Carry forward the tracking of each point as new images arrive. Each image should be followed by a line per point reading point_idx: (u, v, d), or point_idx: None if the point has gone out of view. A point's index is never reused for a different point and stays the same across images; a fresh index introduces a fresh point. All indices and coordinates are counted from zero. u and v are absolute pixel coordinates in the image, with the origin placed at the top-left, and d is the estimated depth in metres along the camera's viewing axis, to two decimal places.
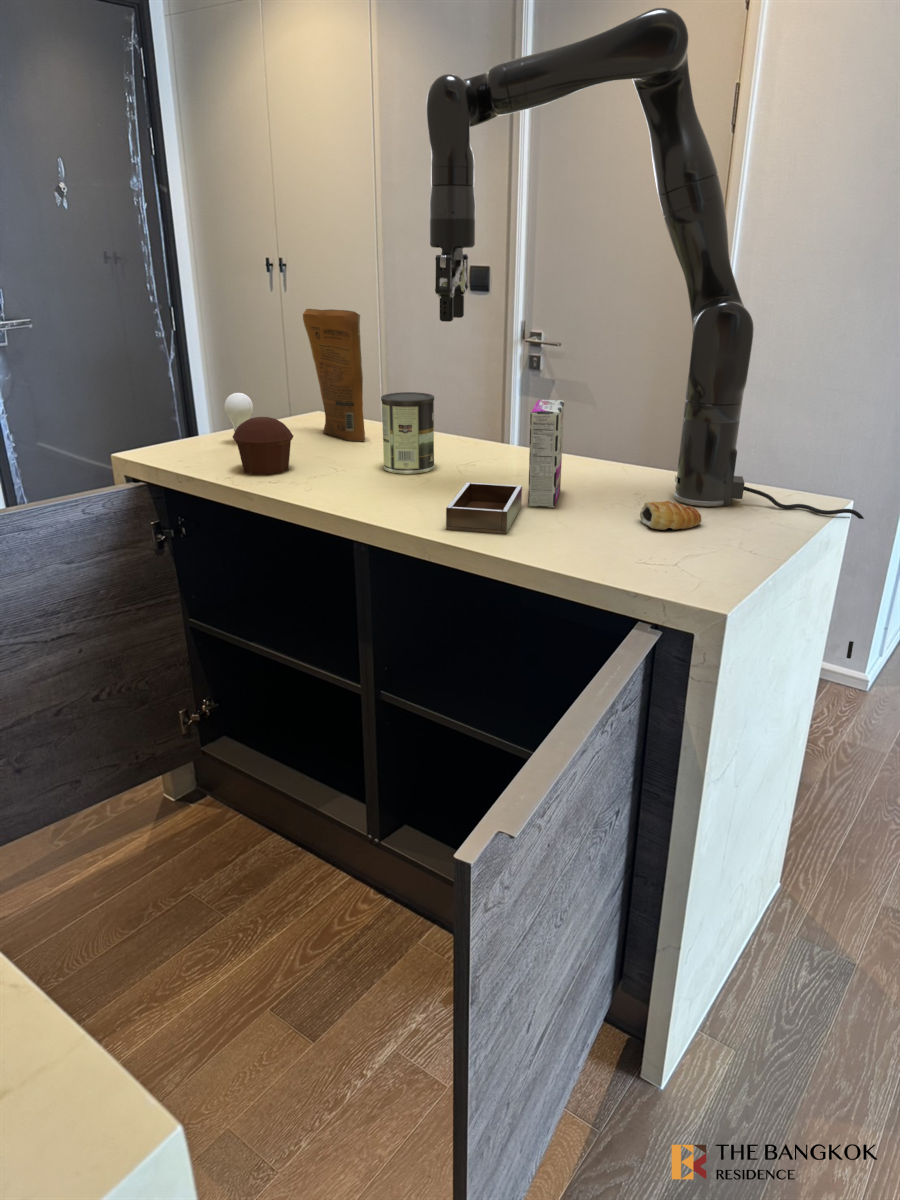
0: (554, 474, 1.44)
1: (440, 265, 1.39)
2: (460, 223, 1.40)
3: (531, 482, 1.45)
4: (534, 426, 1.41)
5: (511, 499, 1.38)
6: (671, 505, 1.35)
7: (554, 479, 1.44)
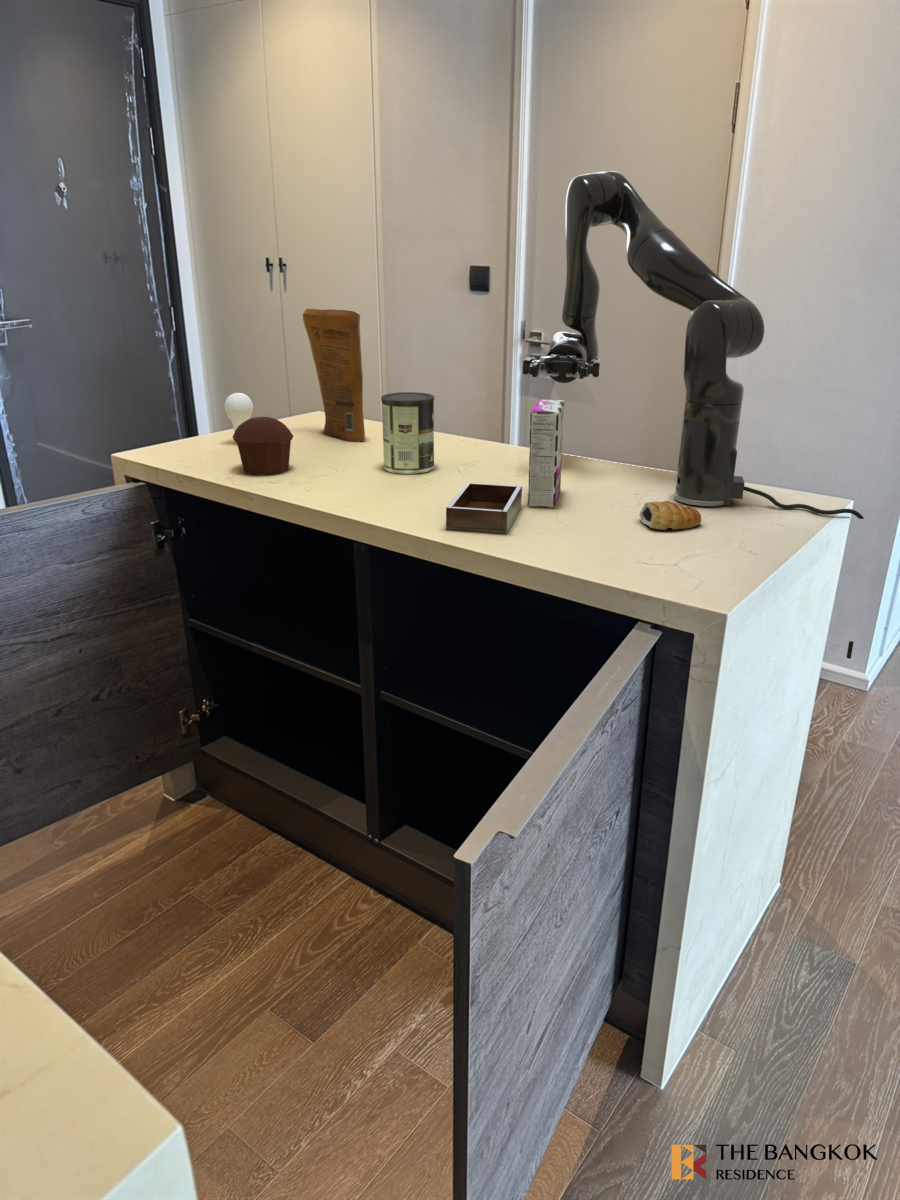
0: (554, 474, 1.44)
1: None
2: None
3: (531, 482, 1.45)
4: (534, 426, 1.41)
5: (511, 499, 1.38)
6: (671, 505, 1.35)
7: (554, 479, 1.44)
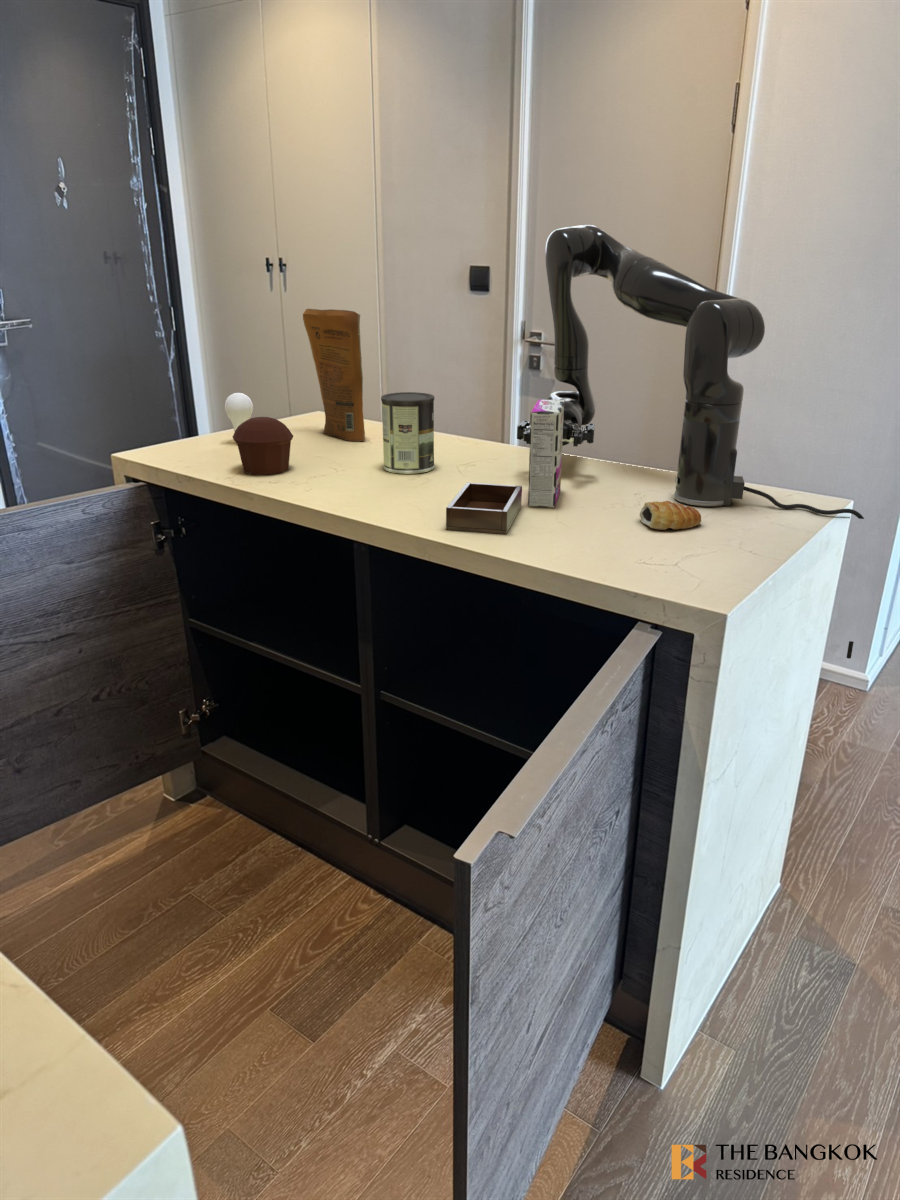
0: (554, 474, 1.44)
1: None
2: None
3: (531, 482, 1.45)
4: (534, 426, 1.41)
5: (511, 499, 1.38)
6: (671, 505, 1.35)
7: (554, 479, 1.44)
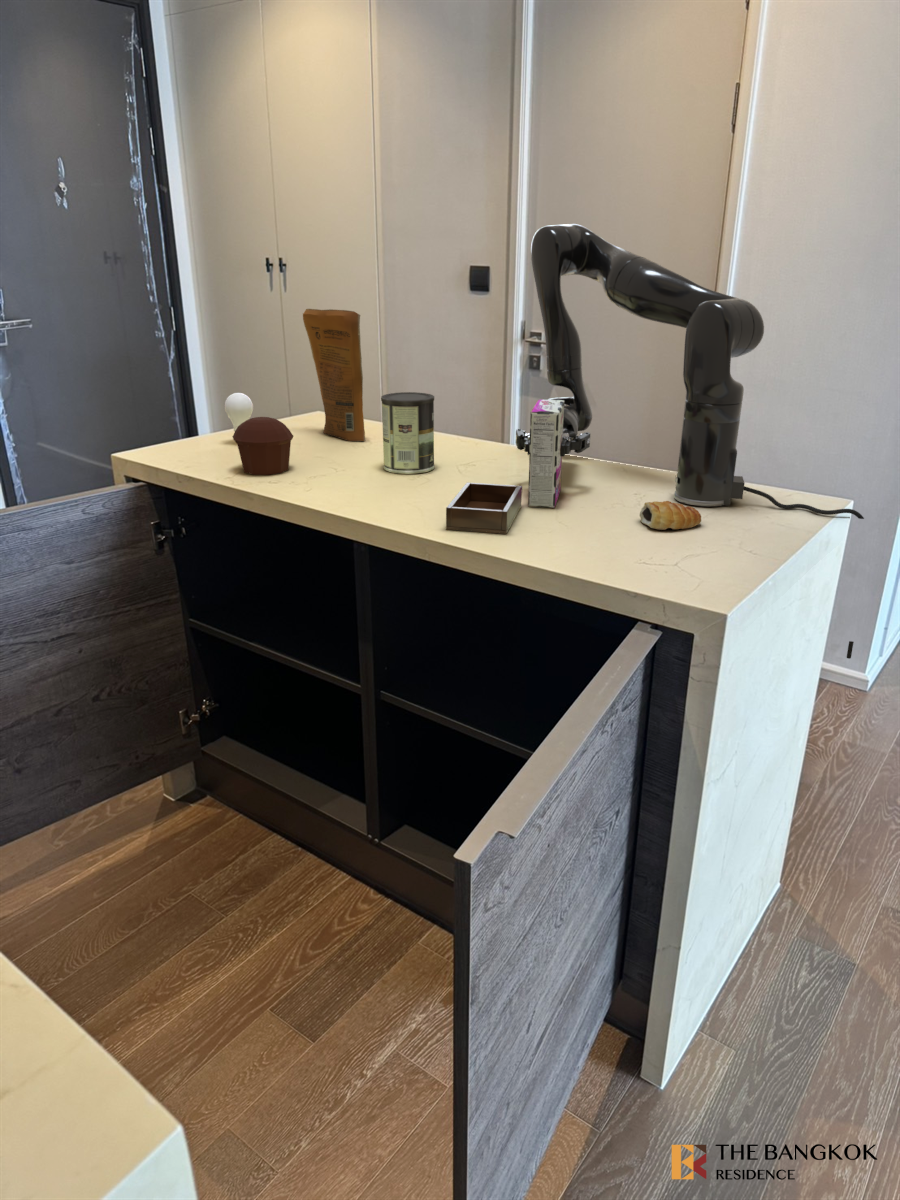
0: (554, 474, 1.44)
1: (516, 439, 1.57)
2: None
3: (531, 482, 1.45)
4: (534, 426, 1.41)
5: (511, 499, 1.38)
6: (671, 505, 1.35)
7: (554, 479, 1.44)
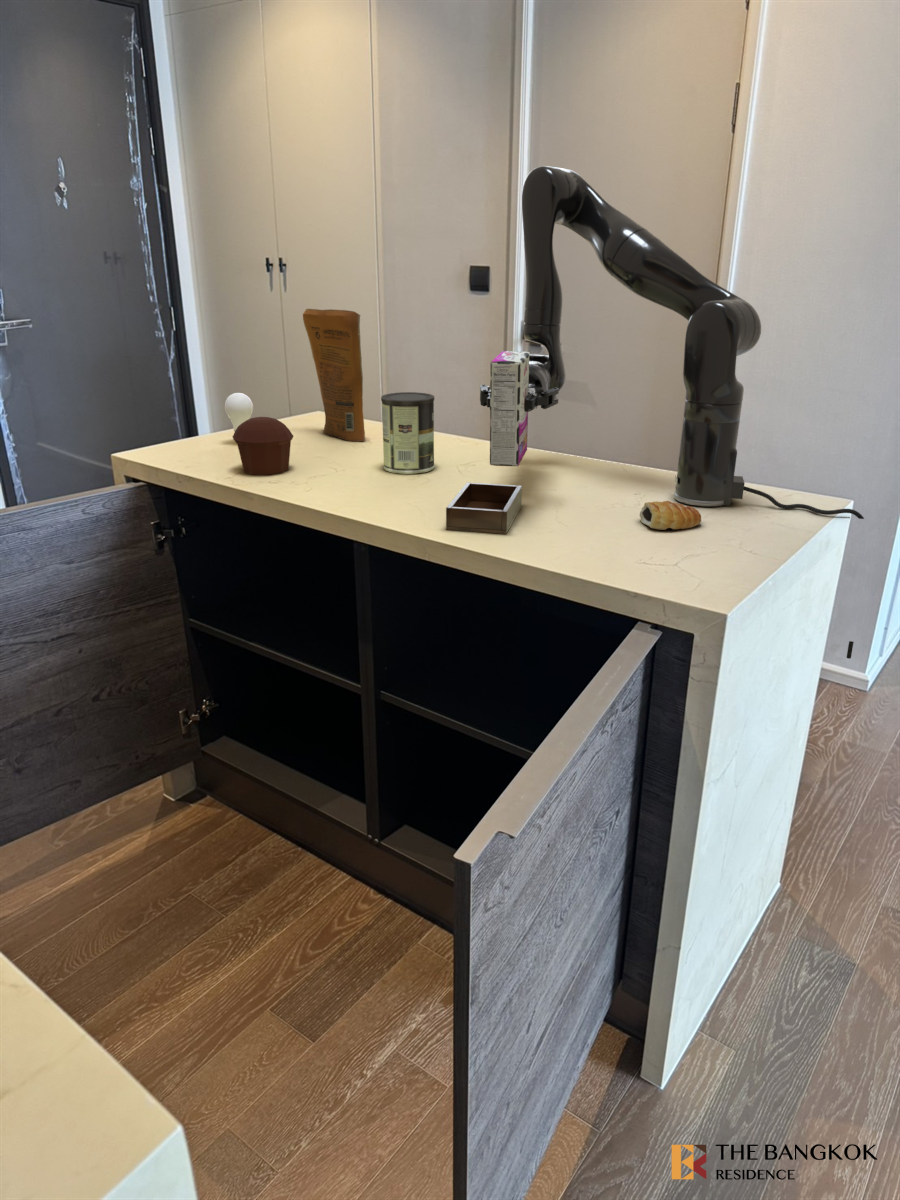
0: (517, 430, 1.34)
1: None
2: None
3: (492, 438, 1.35)
4: (495, 377, 1.31)
5: (511, 499, 1.38)
6: (671, 505, 1.35)
7: (517, 435, 1.34)
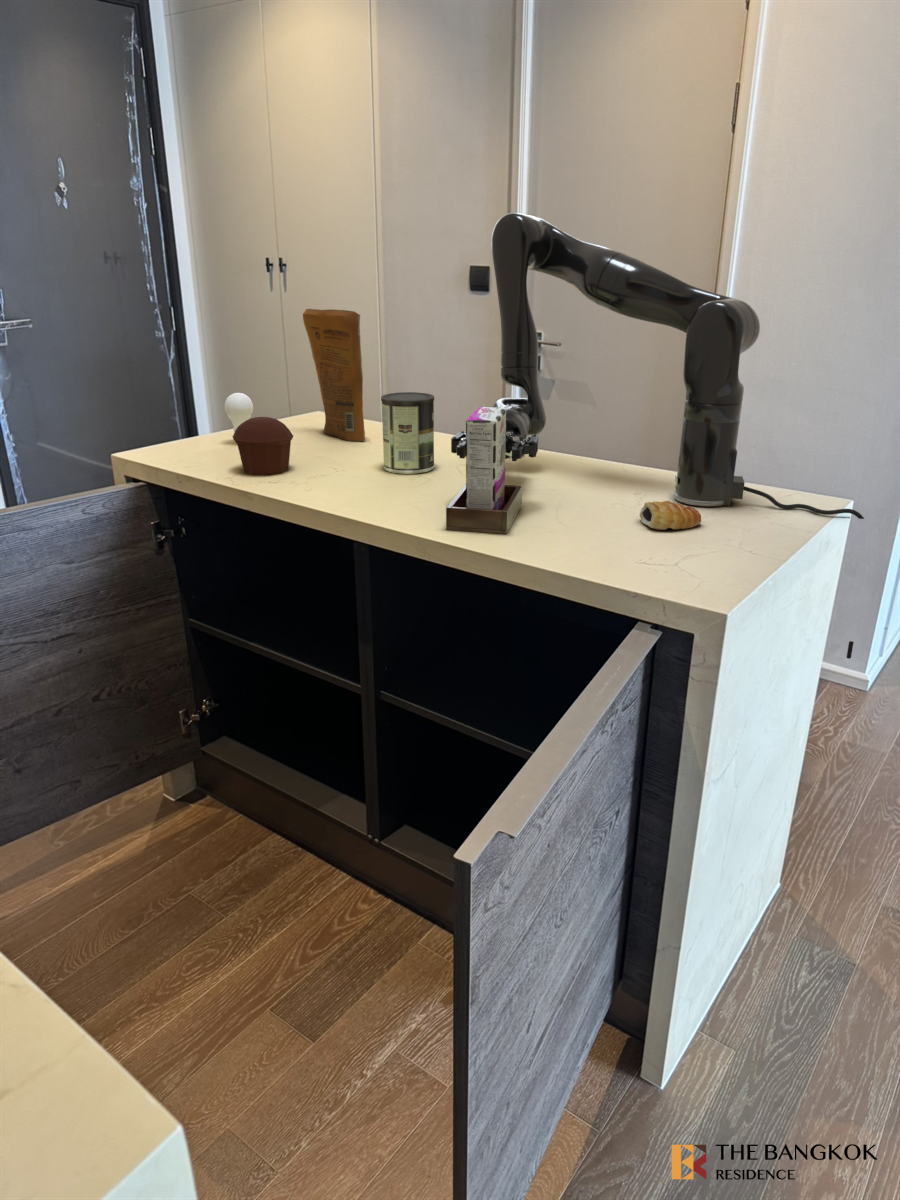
0: (493, 487, 1.33)
1: None
2: None
3: (468, 496, 1.35)
4: (470, 436, 1.31)
5: (511, 499, 1.38)
6: (671, 505, 1.35)
7: (493, 493, 1.34)
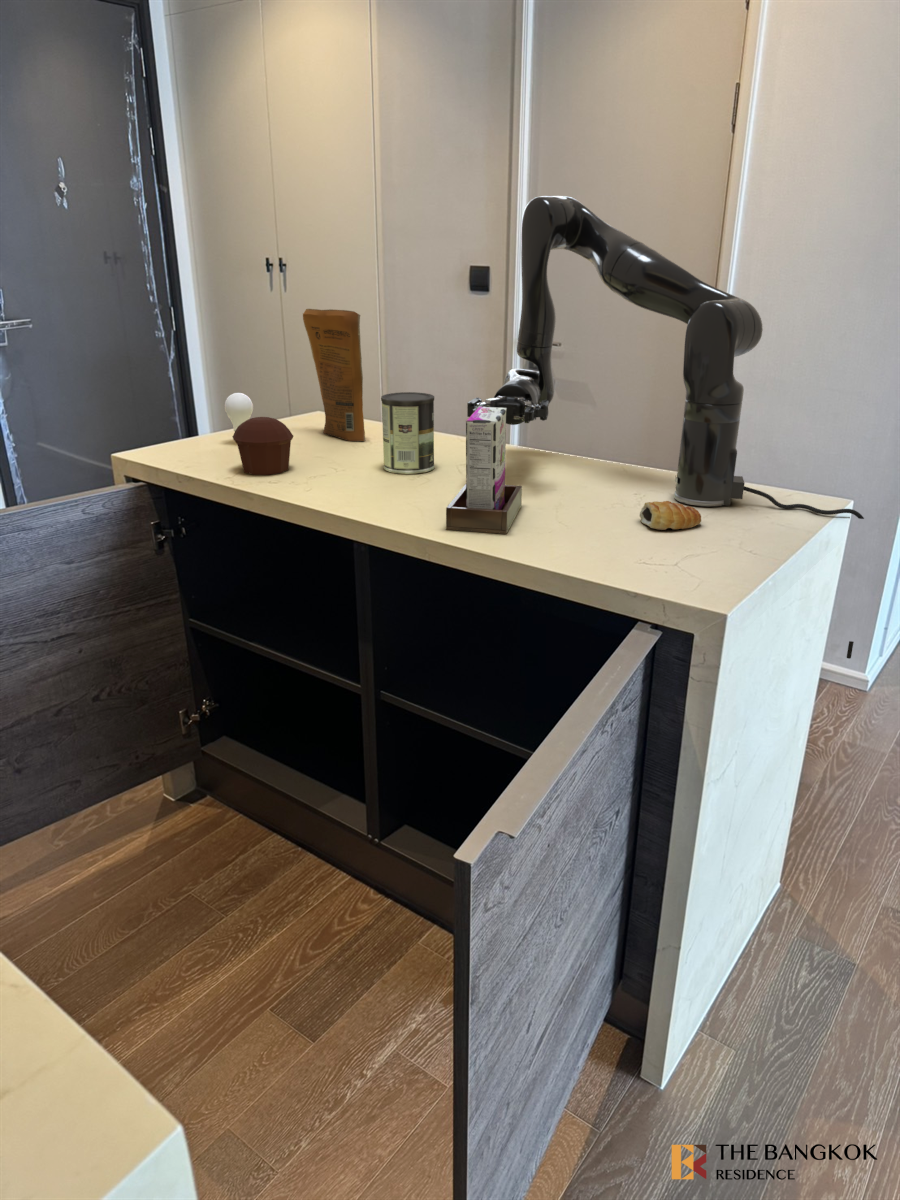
0: (493, 487, 1.33)
1: None
2: None
3: (468, 496, 1.35)
4: (470, 436, 1.31)
5: (511, 499, 1.38)
6: (671, 505, 1.35)
7: (493, 493, 1.34)
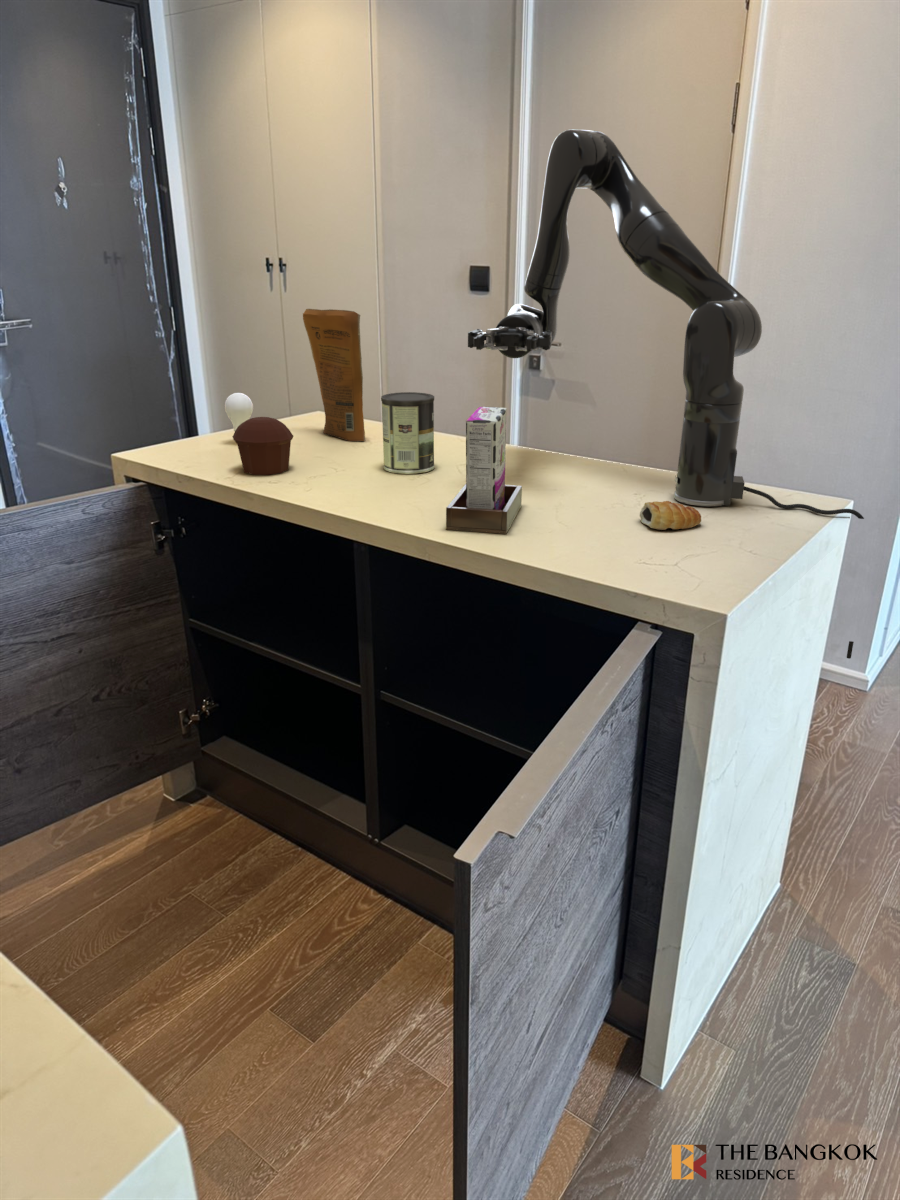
0: (493, 487, 1.33)
1: None
2: None
3: (468, 496, 1.35)
4: (470, 436, 1.31)
5: (511, 499, 1.38)
6: (671, 505, 1.35)
7: (493, 493, 1.34)
